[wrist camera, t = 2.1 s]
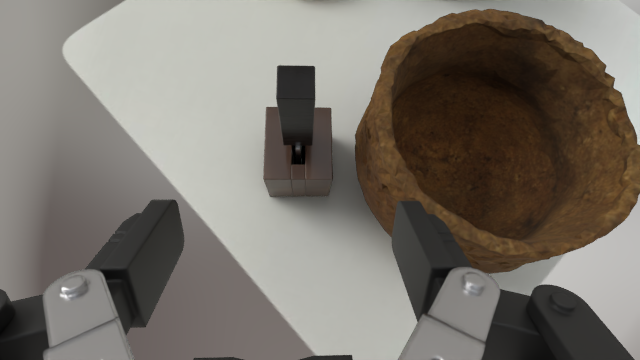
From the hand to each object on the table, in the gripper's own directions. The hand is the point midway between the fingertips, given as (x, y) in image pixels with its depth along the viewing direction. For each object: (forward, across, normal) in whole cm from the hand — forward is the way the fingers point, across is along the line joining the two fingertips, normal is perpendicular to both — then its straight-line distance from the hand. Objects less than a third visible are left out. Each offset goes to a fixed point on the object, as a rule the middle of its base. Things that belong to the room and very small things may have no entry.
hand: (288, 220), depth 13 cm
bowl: (+21, -14, +10) cm, 27 cm away
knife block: (+22, 0, +8) cm, 24 cm away
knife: (+22, 0, +8) cm, 24 cm away
